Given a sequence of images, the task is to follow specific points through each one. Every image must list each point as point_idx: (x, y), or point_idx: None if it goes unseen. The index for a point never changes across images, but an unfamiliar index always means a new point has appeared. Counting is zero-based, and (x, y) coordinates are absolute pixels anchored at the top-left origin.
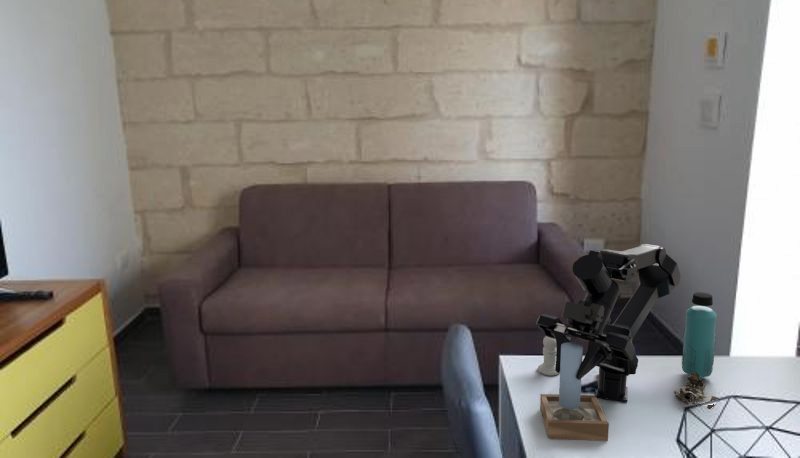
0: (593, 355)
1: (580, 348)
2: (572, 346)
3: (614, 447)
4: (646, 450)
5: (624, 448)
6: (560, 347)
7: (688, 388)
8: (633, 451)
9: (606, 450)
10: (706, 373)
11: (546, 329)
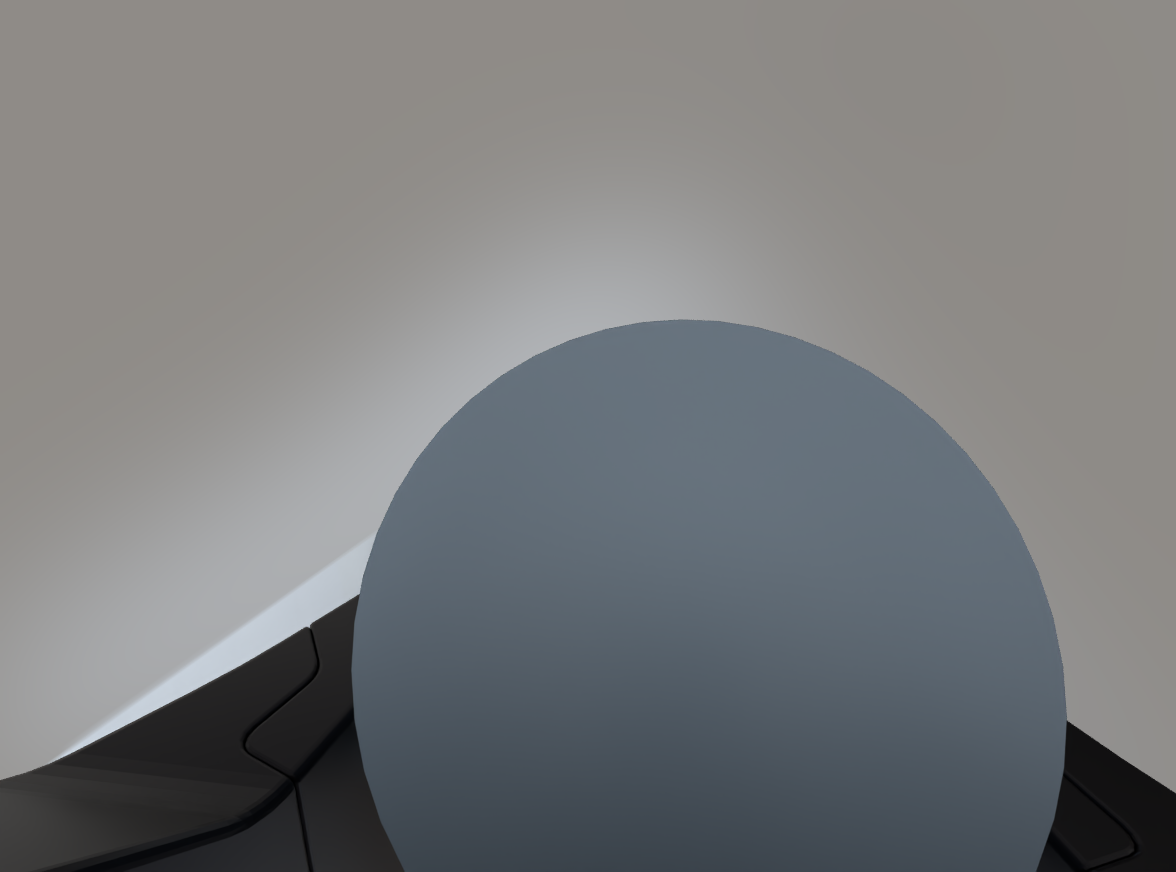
0: (106, 739)
1: (415, 642)
2: (694, 645)
3: (310, 624)
4: (134, 713)
5: (256, 651)
6: (1082, 796)
7: None
8: (205, 652)
9: (344, 566)
10: None
11: None
